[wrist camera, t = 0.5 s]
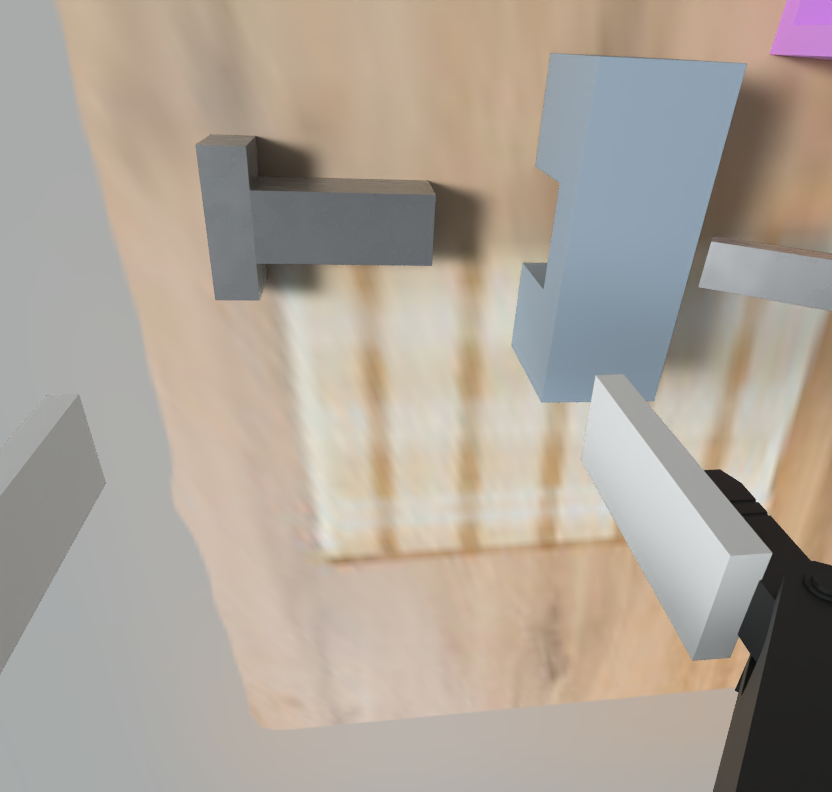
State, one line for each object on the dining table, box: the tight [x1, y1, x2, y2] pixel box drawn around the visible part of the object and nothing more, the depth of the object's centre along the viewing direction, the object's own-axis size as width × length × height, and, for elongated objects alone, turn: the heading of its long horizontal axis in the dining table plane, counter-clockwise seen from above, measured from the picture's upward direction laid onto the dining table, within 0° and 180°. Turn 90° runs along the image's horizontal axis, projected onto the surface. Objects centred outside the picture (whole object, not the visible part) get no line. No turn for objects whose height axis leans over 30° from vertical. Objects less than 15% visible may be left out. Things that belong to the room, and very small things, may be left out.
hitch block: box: [512, 53, 747, 402], centre depth 36 cm, size 18×7×8 cm, turn 177°
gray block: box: [196, 134, 436, 300], centre depth 36 cm, size 8×12×4 cm
